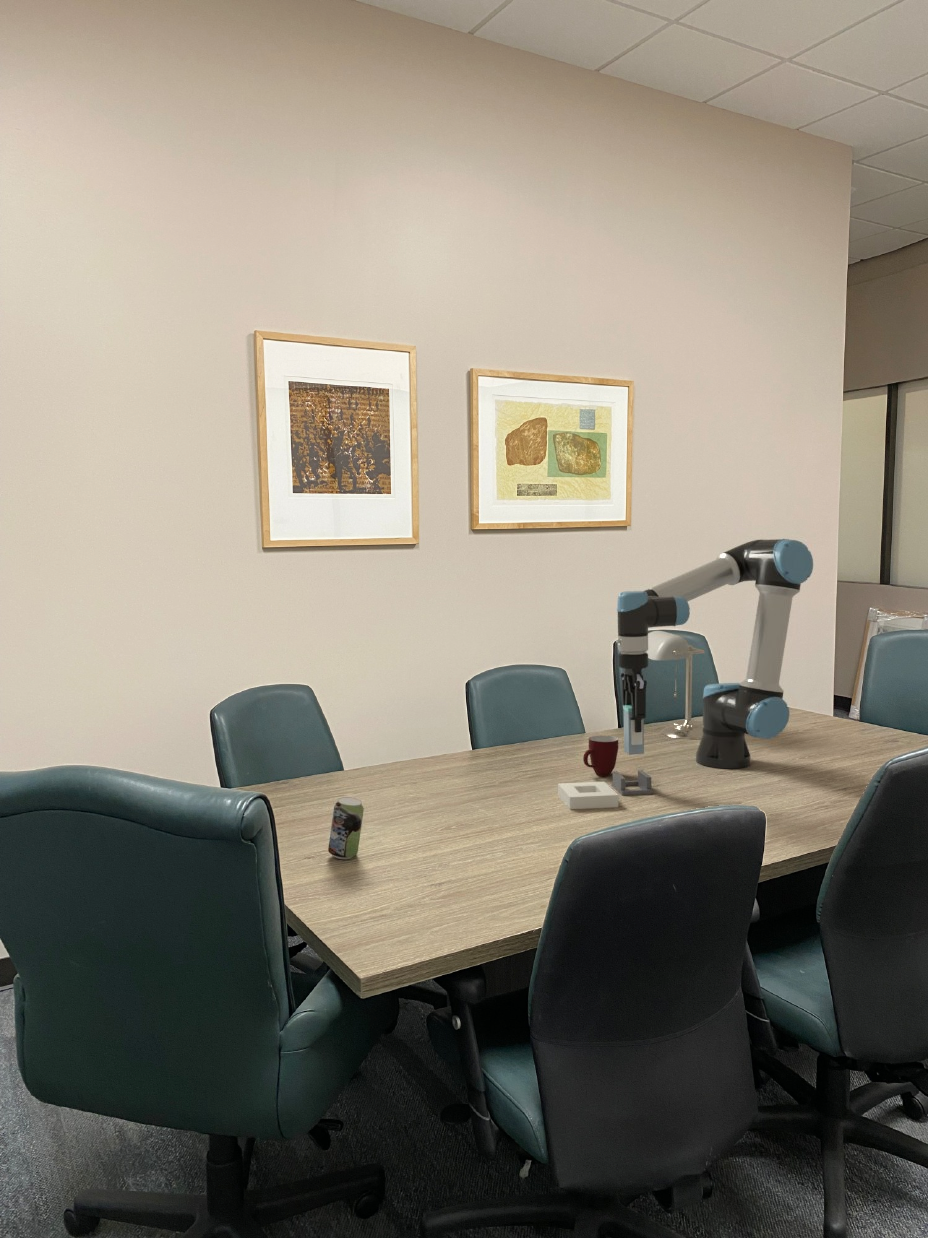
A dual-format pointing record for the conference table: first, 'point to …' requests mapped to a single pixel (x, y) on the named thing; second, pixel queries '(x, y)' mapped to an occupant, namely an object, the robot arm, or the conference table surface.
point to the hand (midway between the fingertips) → (633, 742)
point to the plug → (628, 746)
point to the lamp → (673, 649)
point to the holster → (632, 784)
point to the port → (587, 795)
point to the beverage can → (346, 828)
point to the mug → (602, 754)
